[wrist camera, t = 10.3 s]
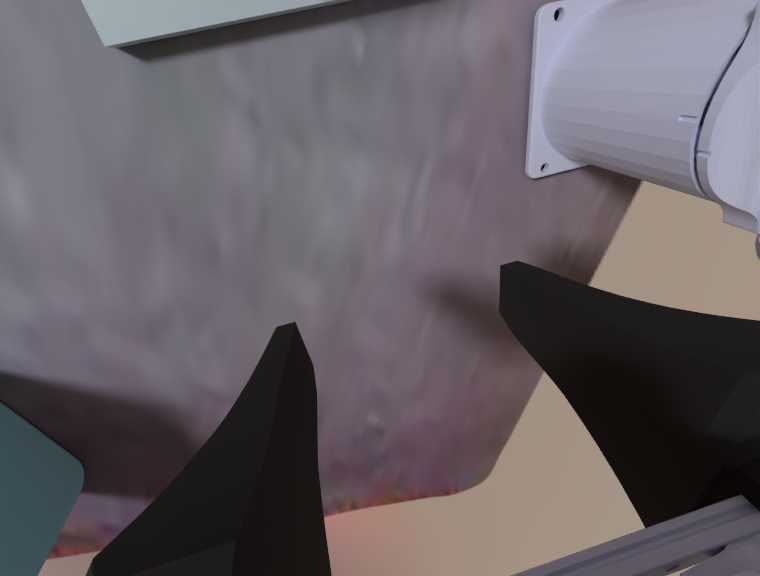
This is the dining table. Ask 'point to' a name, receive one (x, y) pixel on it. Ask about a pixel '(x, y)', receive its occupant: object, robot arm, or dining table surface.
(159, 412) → the dining table surface
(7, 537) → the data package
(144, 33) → the pegged base plate
